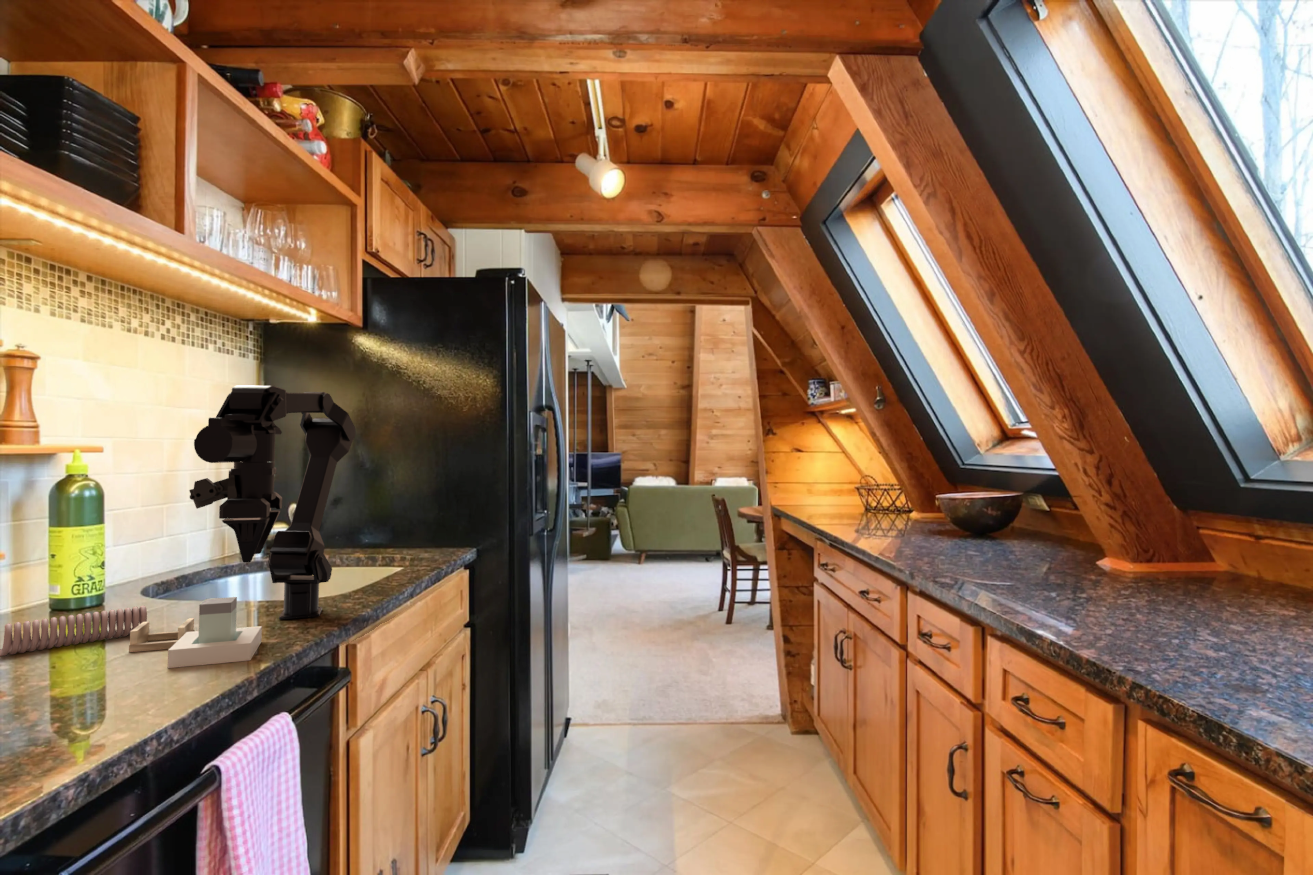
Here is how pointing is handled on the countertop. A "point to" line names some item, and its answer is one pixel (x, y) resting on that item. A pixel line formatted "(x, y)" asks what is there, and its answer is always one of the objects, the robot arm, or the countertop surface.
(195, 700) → the countertop surface
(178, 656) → the plate
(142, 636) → the light brown square holder
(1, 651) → the coil
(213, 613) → the plug
